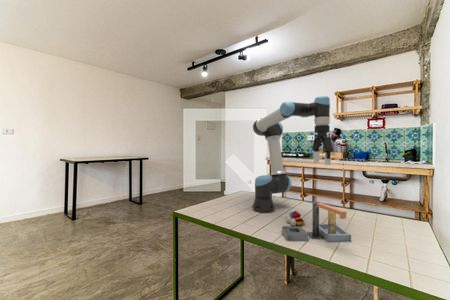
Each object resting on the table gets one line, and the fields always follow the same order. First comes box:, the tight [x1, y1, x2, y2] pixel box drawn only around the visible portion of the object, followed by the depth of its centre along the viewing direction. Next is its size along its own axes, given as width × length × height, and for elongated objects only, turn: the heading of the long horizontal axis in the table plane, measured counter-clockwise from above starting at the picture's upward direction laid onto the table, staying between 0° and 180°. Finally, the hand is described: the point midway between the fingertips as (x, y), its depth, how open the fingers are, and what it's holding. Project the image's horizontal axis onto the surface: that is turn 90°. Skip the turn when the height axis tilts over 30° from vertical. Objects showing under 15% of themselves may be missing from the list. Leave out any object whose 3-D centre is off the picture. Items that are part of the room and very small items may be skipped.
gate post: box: [306, 205, 325, 240], centre depth 105 cm, size 6×6×16 cm
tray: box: [319, 223, 352, 243], centre depth 106 cm, size 14×11×3 cm
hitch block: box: [281, 225, 309, 242], centre depth 106 cm, size 10×10×3 cm
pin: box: [327, 210, 337, 234], centre depth 106 cm, size 4×4×13 cm
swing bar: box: [312, 201, 347, 220], centre depth 98 cm, size 3×18×3 cm, turn 21°
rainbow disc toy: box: [285, 210, 306, 226], centre depth 122 cm, size 8×10×7 cm
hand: (321, 163), depth 117 cm, fingers open, 13 cm apart
